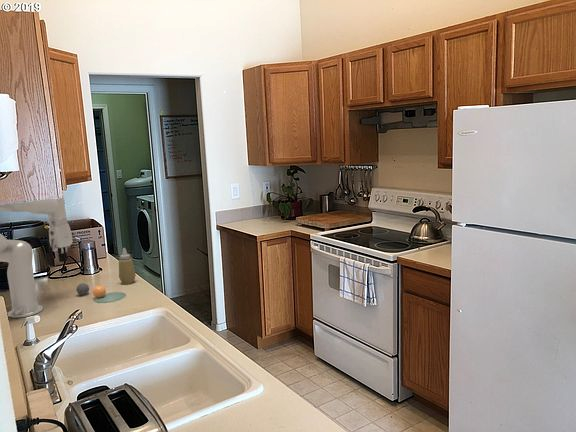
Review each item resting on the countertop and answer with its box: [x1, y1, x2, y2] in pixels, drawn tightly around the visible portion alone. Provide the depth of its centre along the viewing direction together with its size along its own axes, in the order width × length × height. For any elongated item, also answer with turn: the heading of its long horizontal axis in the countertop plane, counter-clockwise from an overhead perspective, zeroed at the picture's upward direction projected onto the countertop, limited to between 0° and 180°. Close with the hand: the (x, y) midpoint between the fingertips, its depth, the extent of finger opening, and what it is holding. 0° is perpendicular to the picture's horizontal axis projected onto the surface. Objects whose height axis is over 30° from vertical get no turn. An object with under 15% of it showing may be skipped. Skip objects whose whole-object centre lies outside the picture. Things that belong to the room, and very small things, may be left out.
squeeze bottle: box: [118, 247, 136, 285], centre depth 237 cm, size 8×8×18 cm
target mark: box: [93, 291, 127, 304], centre depth 216 cm, size 14×14×1 cm
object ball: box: [92, 285, 107, 298], centre depth 217 cm, size 6×6×6 cm
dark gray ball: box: [76, 282, 90, 296], centre depth 222 cm, size 6×6×6 cm
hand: (63, 261), depth 218 cm, fingers closed
